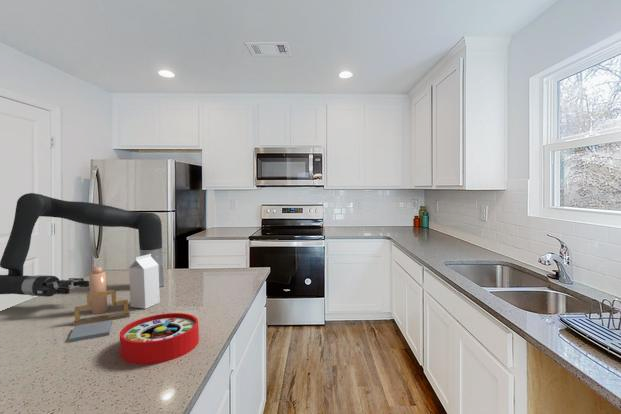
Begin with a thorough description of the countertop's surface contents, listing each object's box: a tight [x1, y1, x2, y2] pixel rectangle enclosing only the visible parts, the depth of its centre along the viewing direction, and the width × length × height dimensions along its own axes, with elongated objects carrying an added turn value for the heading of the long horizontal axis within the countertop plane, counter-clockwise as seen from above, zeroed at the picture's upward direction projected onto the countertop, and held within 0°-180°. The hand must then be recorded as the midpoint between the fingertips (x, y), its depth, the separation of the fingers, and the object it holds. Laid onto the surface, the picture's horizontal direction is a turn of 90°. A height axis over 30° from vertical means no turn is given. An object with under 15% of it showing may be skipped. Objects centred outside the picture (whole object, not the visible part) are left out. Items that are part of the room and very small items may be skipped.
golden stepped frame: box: [72, 289, 131, 327], centre depth 113 cm, size 16×3×10 cm, turn 117°
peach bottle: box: [88, 266, 108, 315], centre depth 121 cm, size 5×5×16 cm
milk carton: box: [128, 254, 161, 310], centre depth 126 cm, size 7×7×19 cm
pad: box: [68, 320, 113, 343], centre depth 103 cm, size 10×10×1 cm
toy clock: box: [119, 312, 200, 366], centre depth 94 cm, size 20×6×20 cm
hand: (78, 287), depth 122 cm, fingers open, 8 cm apart
